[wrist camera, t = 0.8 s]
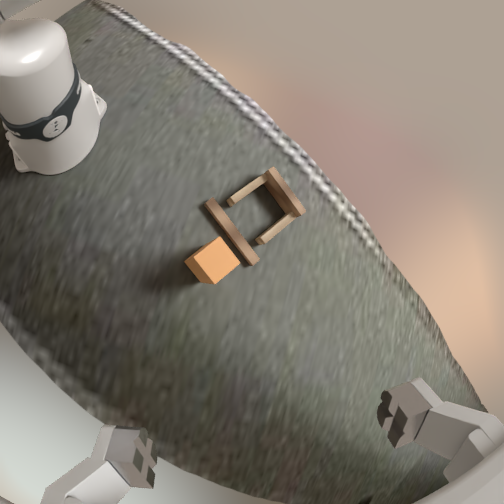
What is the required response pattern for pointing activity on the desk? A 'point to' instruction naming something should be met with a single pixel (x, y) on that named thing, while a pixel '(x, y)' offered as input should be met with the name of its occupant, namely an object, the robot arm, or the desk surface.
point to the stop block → (212, 261)
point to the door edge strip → (231, 231)
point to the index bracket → (281, 196)
